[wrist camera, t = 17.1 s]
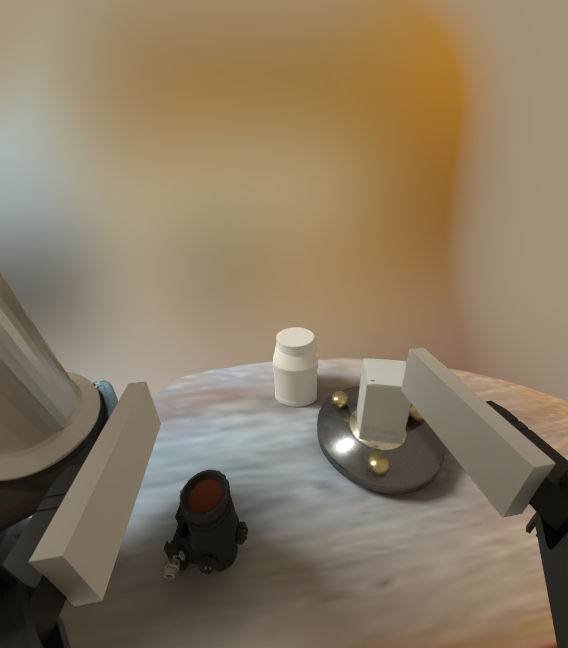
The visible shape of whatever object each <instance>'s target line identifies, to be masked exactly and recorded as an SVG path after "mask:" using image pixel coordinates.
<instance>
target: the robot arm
mask: <svg viewBox="0 0 568 648" xmlns="http://www.w3.org/2000/svg"><path fill="white" fill-rule="evenodd" d="M401 391H402V392H403V393H404V395H405V396H406V397H407V398H408V400H409V401H410V402H411V403H412V405H413V406H414V407H415V408H416V410H417V411H418V412H419V413H420V415H421V416H422V417H423V418H424V420H425V421H426V422H427V423H428V425H429V426H430V427H431V428H432V430H433V431H434V432H435V433H436V435H437V436H438V437H439V438H440V440H441V441H442V442H443V443H444V445H445V446H446V447H447V448H448V450H449V451H450V452H451V454H452V455H453V456H454V457H455V459H456V460H457V461H458V462H459V464H460V465H461V466H462V467H463V469H464V470H465V471H466V472H467V474H468V475H469V476H470V477H471V479H472V480H473V481H474V482H475V484H476V485H477V486H478V487H479V489H480V490H481V491H482V492H483V494H484V495H485V496H486V497H487V499H488V500H489V501H490V502H491V504H492V505H493V506H494V507H495V509H496V510H497V511H498V512H499V514H500V515H501V516H502V518H503V517H508V516H513V515H518V514H522V513H523V511H524V510H525V508H526V507H527V505H528V504H530V505H531V506H532V507H533V508H534V509H535V510H536V513H535V515H534V516H533V517H532V519H531V520H530V522H529V523H528V524H527V526H526V532H528V533H531V531H532V530H533V529H534V527H535V526H536V531H537V534H536V536H537V537H538V542H539V548H540V553H541V559H542V564H543V570H544V575H545V580H546V586H547V591H548V597H549V602H550V608H551V613H552V619H553V624H554V630H555V635H556V641H557V646H558V648H568V460H566V459H565V458H564V457H563V456H562V455H560V454H559V453H558V452H557V451H556V450H554V449H553V448H552V447H551V446H550V445H548V444H547V443H546V442H545V441H544V440H542V439H541V438H540V437H539V436H538V435H536V434H535V433H534V432H533V431H532V430H529V429H528V427H527V426H526V425H524V424H523V423H522V422H521V421H518V419H517V418H516V417H515V416H514V415H512V414H511V413H510V412H509V411H508V410H506V409H505V408H503V407H501V406H499V405H498V404H496V403H494V402H492V401H486V402H485V401H484V400H483V399H482V398H480V397H479V396H478V395H477V394H476V393H475V392H474V391H472V390H471V389H470V388H469V387H468V386H467V385H466V384H464V383H463V382H462V381H461V380H460V379H459V378H457V377H456V376H455V375H454V374H453V373H452V372H451V371H449V370H448V369H447V368H446V367H445V366H444V365H443V364H441V363H440V362H439V361H438V360H437V359H436V358H434V357H433V356H432V355H431V354H430V353H429V352H428V351H426V350H425V349H424V348H417V349H410V350H409V355H408V359H407V364H406V369H405V374H404V378H403V383H402V388H401ZM160 425H161V423H160V420H159V417H158V414H157V411H156V409H155V406H154V403H153V400H152V397H151V395H150V392H149V389H148V386H147V383H146V382H139V383H130V384H128V385H127V387H126V389H125V391H124V393H123V394H122V396H121V398H120V400H119V401H118V400H117V396H116V394H115V392H114V389H113V387H112V385H111V384H110V383H109V382H107V381H101V382H93V383H91V381H89V380H88V379H87V378H85V377H83V376H80V375H78V374H75V373H71V372H66V371H65V370H64V368H63V367H62V365H61V364H60V362H59V361H58V359H57V358H56V356H55V355H54V353H53V352H52V350H51V349H50V347H49V346H48V344H47V343H46V341H45V339H44V338H43V336H42V335H41V333H40V332H39V330H38V329H37V327H36V326H35V324H34V323H33V321H32V320H31V318H30V317H29V315H28V314H27V312H26V311H25V309H24V308H23V306H22V304H21V303H20V301H19V300H18V298H17V297H16V295H15V294H14V292H13V291H12V289H11V288H10V286H9V285H8V283H7V282H6V280H5V279H4V277H3V276H2V274H1V272H0V648H70V646H69V642H68V638H67V635H66V631H65V627H64V624H63V620H62V619H61V617H60V616H59V615H60V612H61V610H62V607H63V605H64V603H65V600H66V599H67V600H68V601H69V602H70V603H71V604H72V605H73V606H74V607H76V606H80V605H85V604H90V603H95V602H100V601H103V598H104V595H105V592H106V589H107V586H108V583H109V580H110V577H111V574H112V571H113V568H114V565H115V561H116V558H117V555H118V552H119V549H120V546H121V543H122V540H123V537H124V534H125V531H126V528H127V525H128V522H129V519H130V516H131V513H132V510H133V507H134V504H135V501H136V498H137V495H138V492H139V489H140V486H141V483H142V480H143V477H144V474H145V471H146V467H147V464H148V461H149V458H150V455H151V452H152V449H153V446H154V443H155V440H156V437H157V434H158V431H159V428H160ZM35 513H36V514H35ZM32 515H33V516H32ZM30 516H32V518H28V517H30Z"/></svg>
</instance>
